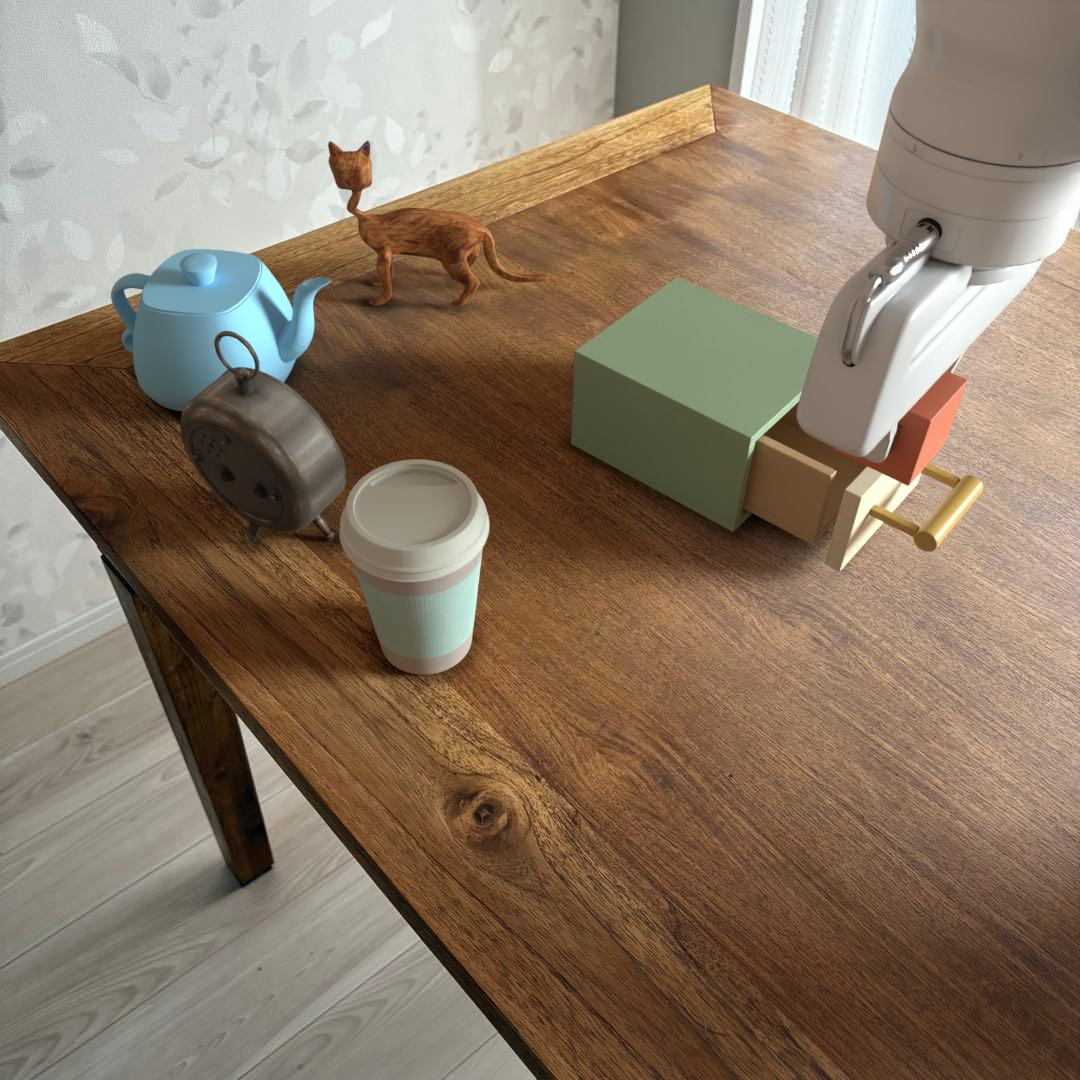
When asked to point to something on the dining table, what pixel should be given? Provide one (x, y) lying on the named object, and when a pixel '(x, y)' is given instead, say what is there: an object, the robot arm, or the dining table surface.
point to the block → (921, 430)
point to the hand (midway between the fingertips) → (898, 424)
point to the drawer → (840, 494)
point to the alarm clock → (263, 449)
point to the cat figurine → (417, 232)
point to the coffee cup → (417, 559)
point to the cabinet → (688, 394)
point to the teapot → (211, 321)
